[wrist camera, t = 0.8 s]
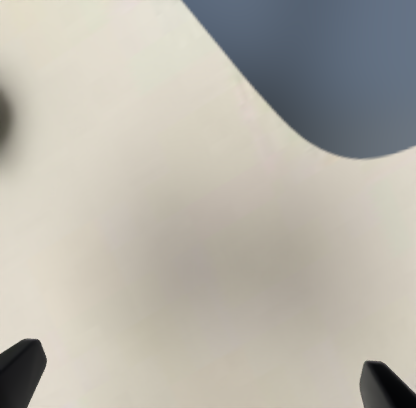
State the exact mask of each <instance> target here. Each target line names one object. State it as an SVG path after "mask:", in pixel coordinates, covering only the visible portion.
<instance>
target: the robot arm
mask: <svg viewBox="0 0 416 408" xmlns="http://www.w3.org/2000/svg"><path fill="white" fill-rule="evenodd" d="M46 363H47V358H46V355H45V353H44V350H43V347H42V345H41V342H40V341H39V340H38V339H23V340H21V341H20V342H18V343H16V344H15V345H13V346H12V347H10V348H9V349H7V350H6V351H4V352H3V353H1V354H0V408H27V407H28V404H29V402H30V400H31V398H32V396H33V394H34V391H35V389H36V387H37V385H38V383H39V380H40V378H41V376H42V374H43V372H44V370H45V367H46ZM360 392H361V397H362V401H363V405H364V408H416V394H415V393H414V392H413V391H412V390H411V389H410V388H409V387H408V386H407V385H406V384H405V383H404V382H403V381H402V380H401V379H400V378H399V377H398V376H397V375H396V374H395V373H394V372H393V371H392V370H391V369H390V368H389V367H388V366H387V365H386V364H384V363H383V362H380V361H365V362H364V365H363V369H362V374H361V378H360Z"/></svg>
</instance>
